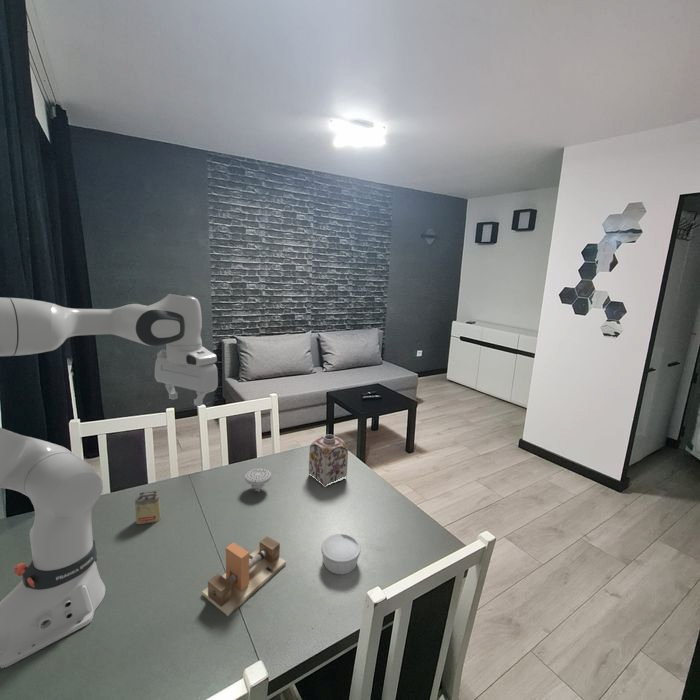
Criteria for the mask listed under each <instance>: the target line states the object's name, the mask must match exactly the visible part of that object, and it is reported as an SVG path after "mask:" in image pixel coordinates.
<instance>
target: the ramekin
mask: <svg viewBox="0 0 700 700" xmlns="http://www.w3.org/2000/svg"><path fill="white" fill-rule="evenodd" d="M358 541H359V540H357V539H356V538H355V537H353V536H351V535H349V534H344V533H335V534H331V535H329V536H327V537H326V538H324V540H323V541H322V544H321V549H320V550H321V554H322V561H323V565H324V566H325V568H326V570H328V571H329V572H330V573H333V574H336V575H346V574H349V573H350V572H352V571H353V570H354V569H355V568H356V565H358V564H357V563H358V560H359V557H360V555H361V545H360V543H359V542H358Z"/></svg>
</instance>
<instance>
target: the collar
mask: <svg viewBox="0 0 700 700" xmlns="http://www.w3.org/2000/svg"><path fill="white" fill-rule="evenodd" d="M249 555H250V551H247V550H246V549H245V548H244V547H242V546H241V545H239V544H237V543H235V542H234V541H233V542H232V543H231V544H229V545H227V546H226V547H225V573H226V579H227V578H228V577H229V576H231V575H232V574H233V573H234V574H235V575H237V580H236V581H235V582H234V583H232V584H233V585H234V586H235V587H237V588H238V589H239V590H241V591H242V590H243V589H244V588H245V587H247V586H248V585H249Z"/></svg>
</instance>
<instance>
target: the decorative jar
mask: <svg viewBox="0 0 700 700" xmlns="http://www.w3.org/2000/svg"><path fill="white" fill-rule="evenodd" d="M308 455H309V459H308V475H309V474H311V475H312V476H314V477H315V478H316V479H317V480H318V481H320V482H321V483H322V484H323V485H324V486H326V485H327V484H329V483H331V482H334V481H336V480H338V479H340V478H342V477H345V476H346V477H347V476H348V475H347V474H348V462H349V461H348V458H349V449H348V446H347V445H346V443H345V441H344V440H343V439H342V438H340V437H338V436H336V435H333V434H325V435H324V436H320V437H317V438H316V439H315V440H314V441H313V442H312V443H311V444H310V446H309V454H308Z"/></svg>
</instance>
